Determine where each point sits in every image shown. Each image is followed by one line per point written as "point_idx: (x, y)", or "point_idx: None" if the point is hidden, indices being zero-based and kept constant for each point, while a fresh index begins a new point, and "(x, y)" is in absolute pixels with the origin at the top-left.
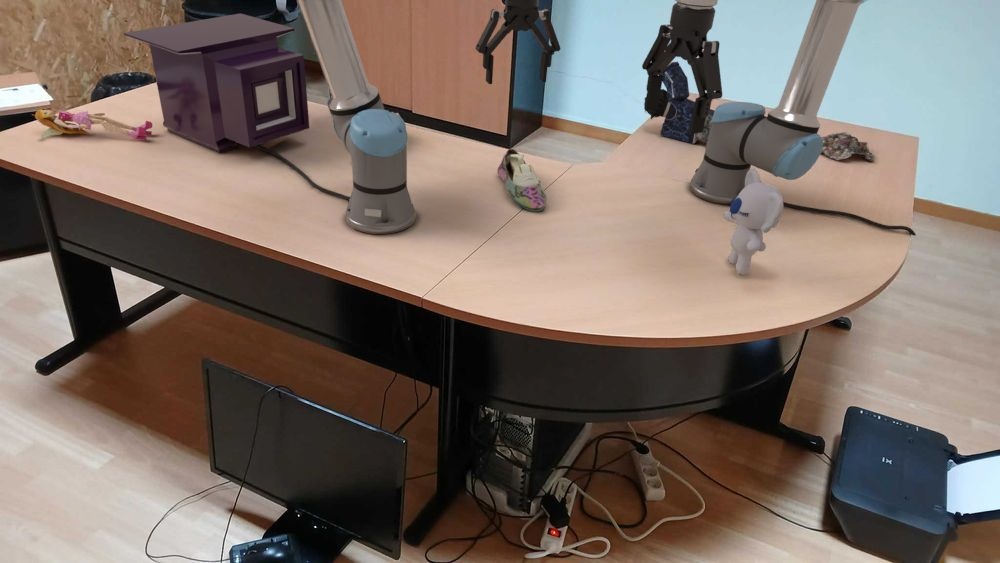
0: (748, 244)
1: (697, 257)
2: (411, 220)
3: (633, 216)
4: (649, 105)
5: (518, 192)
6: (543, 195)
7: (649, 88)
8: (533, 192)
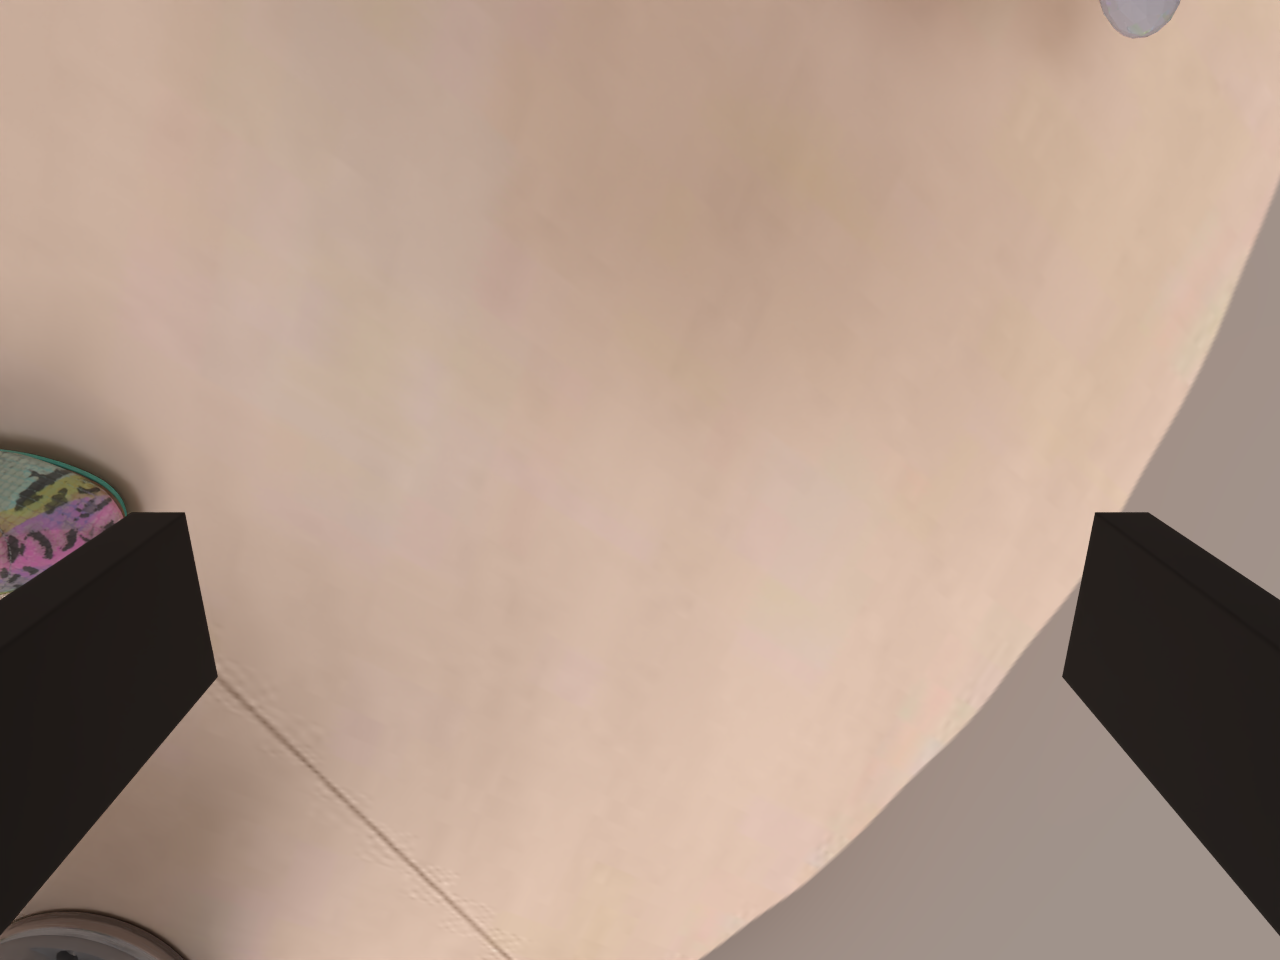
0: (1130, 23)
1: (733, 57)
2: (152, 956)
3: (259, 91)
4: (180, 680)
5: (10, 591)
6: (47, 494)
7: (4, 913)
8: (36, 549)
